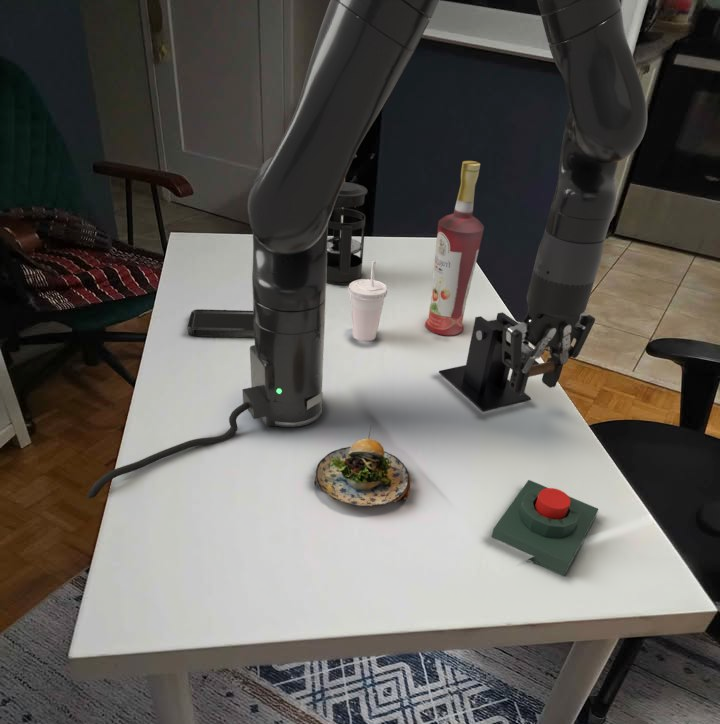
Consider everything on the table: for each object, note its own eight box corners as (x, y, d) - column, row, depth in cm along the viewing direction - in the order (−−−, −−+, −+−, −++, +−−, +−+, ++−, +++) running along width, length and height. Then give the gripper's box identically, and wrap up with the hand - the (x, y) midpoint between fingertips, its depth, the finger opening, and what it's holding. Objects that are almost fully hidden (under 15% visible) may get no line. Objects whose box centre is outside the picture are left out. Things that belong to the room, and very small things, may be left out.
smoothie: (378, 352, 108) (386, 270, 99) (341, 346, 109) (346, 264, 100) (385, 335, 113) (393, 256, 104) (349, 329, 114) (354, 250, 105)
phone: (192, 309, 113) (278, 311, 114) (192, 315, 114) (278, 317, 115) (186, 330, 107) (277, 331, 108) (187, 336, 108) (277, 338, 109)
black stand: (529, 404, 99) (549, 334, 91) (481, 416, 95) (498, 344, 88) (483, 367, 107) (498, 299, 99) (437, 377, 103) (449, 308, 96)
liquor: (471, 337, 115) (505, 168, 97) (437, 344, 112) (465, 171, 94) (448, 320, 119) (476, 155, 101) (415, 326, 116) (438, 158, 99)
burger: (296, 491, 79) (296, 442, 75) (346, 445, 87) (350, 398, 83) (380, 531, 75) (386, 481, 70) (425, 478, 83) (434, 431, 78)
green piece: (564, 576, 72) (574, 551, 69) (489, 542, 75) (496, 516, 72) (593, 521, 79) (603, 497, 76) (524, 492, 82) (532, 468, 80)
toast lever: (552, 376, 90) (558, 361, 88) (524, 383, 88) (529, 368, 86) (501, 331, 97) (505, 317, 96) (474, 337, 95) (478, 322, 94)
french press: (313, 265, 135) (316, 144, 120) (357, 265, 137) (365, 146, 122) (320, 289, 126) (324, 161, 111) (367, 288, 128) (377, 163, 113)
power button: (560, 524, 73) (564, 513, 72) (530, 511, 74) (534, 500, 73) (570, 507, 75) (574, 496, 74) (541, 495, 77) (545, 483, 75)
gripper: (538, 290, 74) (507, 413, 85) (629, 274, 80) (589, 392, 91) (499, 266, 79) (475, 385, 90) (587, 252, 85) (554, 366, 96)
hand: (532, 387), depth 90 cm, fingers closed on toast lever, 5 cm apart
